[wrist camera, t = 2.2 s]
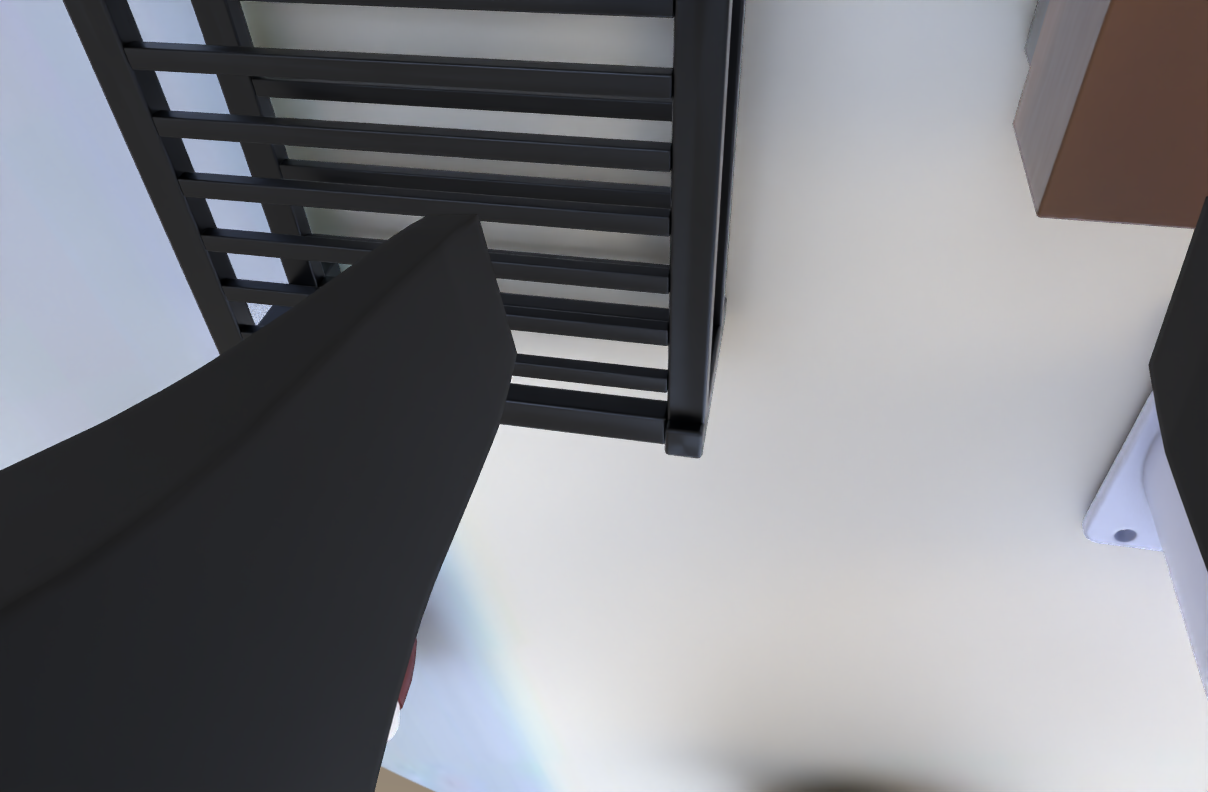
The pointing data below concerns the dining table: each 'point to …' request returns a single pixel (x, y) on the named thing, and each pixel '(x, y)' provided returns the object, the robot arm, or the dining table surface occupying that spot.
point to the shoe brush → (1117, 111)
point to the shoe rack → (459, 185)
